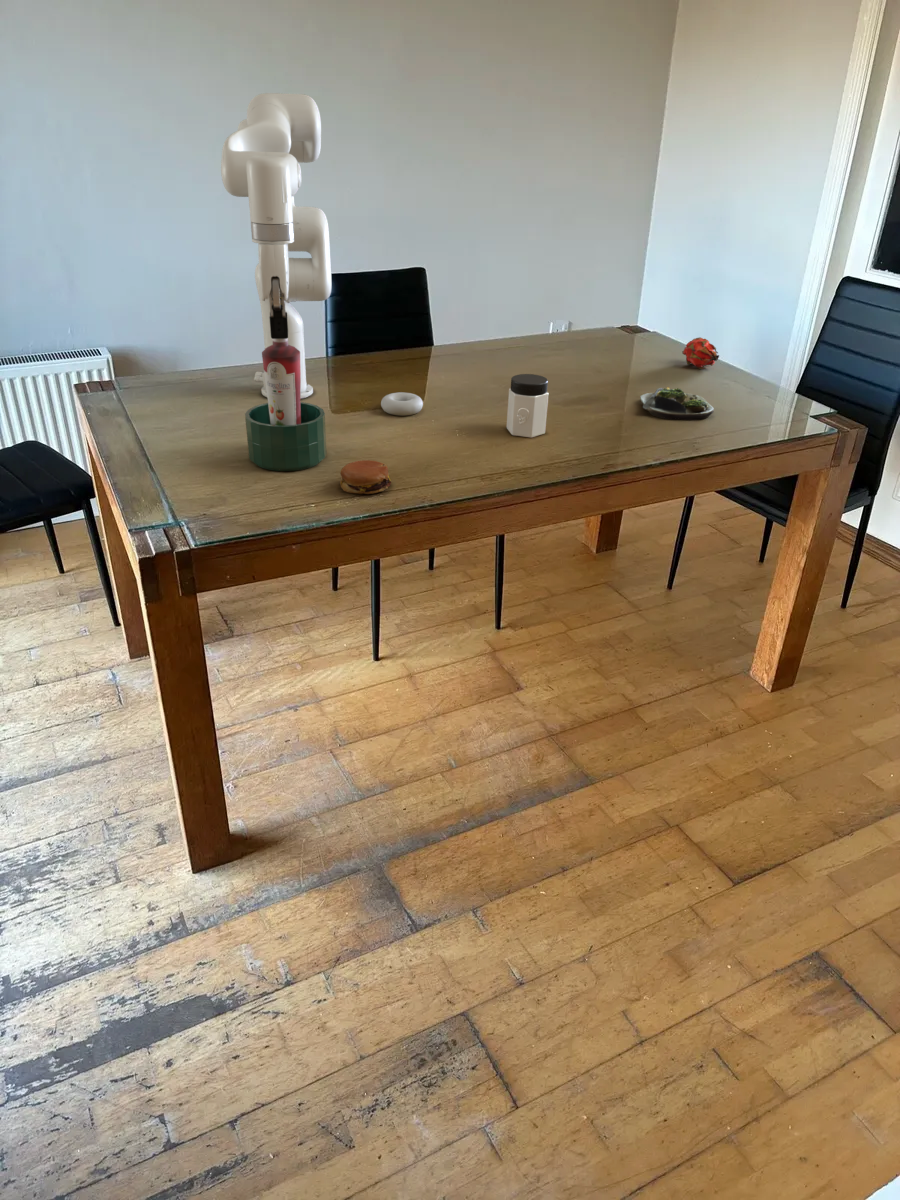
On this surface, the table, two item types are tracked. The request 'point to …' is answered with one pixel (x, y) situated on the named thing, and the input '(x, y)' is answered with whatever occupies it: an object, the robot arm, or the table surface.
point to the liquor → (283, 382)
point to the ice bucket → (286, 439)
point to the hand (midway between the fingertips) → (279, 335)
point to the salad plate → (676, 405)
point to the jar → (527, 405)
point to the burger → (365, 477)
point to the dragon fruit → (700, 353)
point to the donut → (401, 404)
